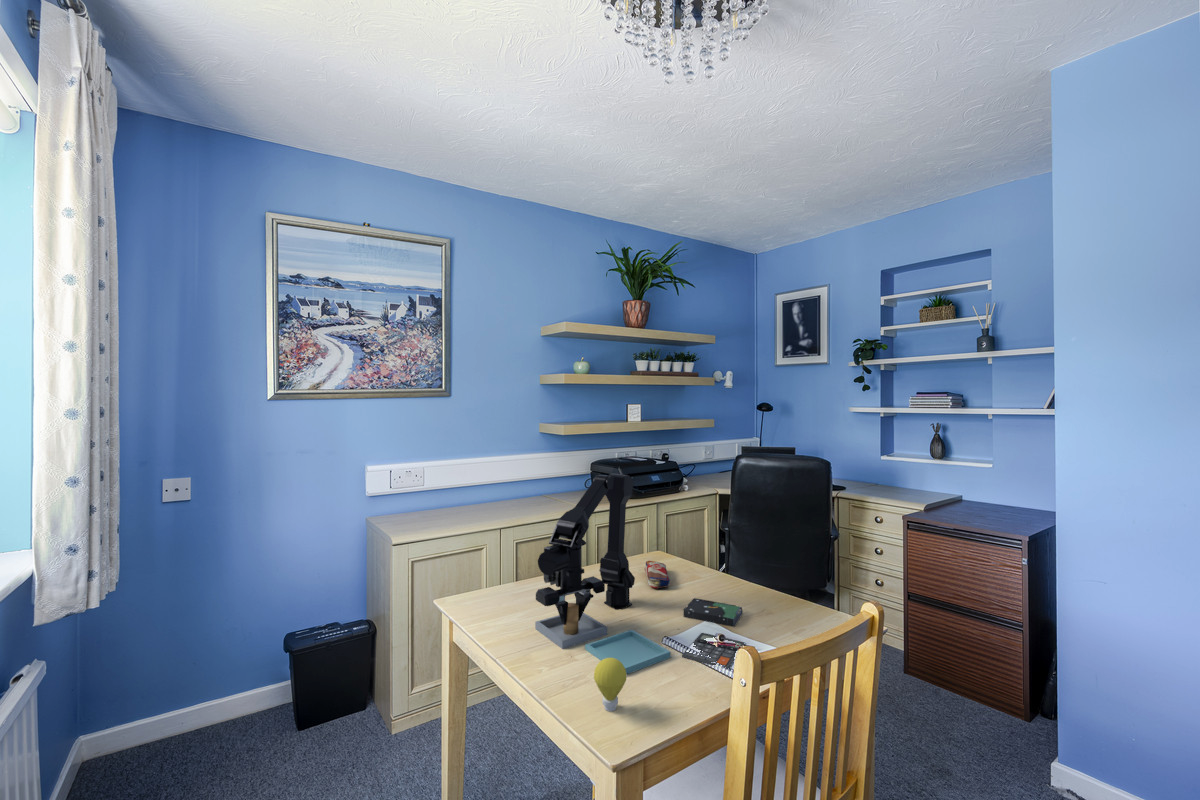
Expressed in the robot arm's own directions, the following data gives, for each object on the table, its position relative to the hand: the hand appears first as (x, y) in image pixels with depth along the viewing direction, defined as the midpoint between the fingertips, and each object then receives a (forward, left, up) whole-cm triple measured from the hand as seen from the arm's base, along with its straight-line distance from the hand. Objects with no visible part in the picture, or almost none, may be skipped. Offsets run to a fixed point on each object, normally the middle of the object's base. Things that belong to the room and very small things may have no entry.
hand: (571, 622), depth 146 cm
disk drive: (-40, +14, -4) cm, 42 cm away
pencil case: (-46, -17, -3) cm, 49 cm away
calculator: (-24, +29, -3) cm, 38 cm away
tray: (-5, +18, -3) cm, 19 cm away
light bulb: (+12, +34, -3) cm, 36 cm away
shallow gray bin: (0, 0, -3) cm, 3 cm away
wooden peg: (0, 0, -2) cm, 2 cm away
